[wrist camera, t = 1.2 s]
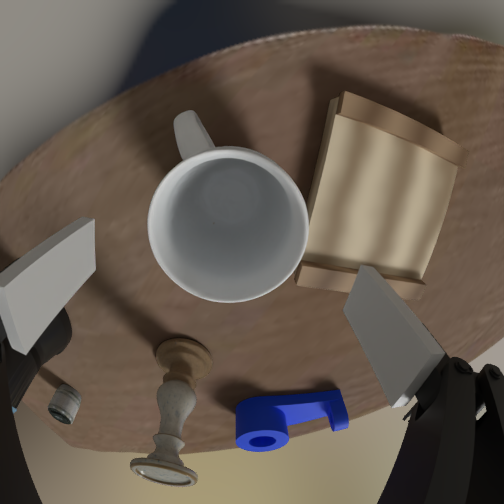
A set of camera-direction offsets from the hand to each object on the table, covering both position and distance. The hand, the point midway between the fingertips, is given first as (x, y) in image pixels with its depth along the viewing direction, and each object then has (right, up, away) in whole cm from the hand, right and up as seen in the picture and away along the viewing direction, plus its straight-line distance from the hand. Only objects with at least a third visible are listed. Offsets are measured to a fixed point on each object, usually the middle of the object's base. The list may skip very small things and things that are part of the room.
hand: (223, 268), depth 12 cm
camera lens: (-39, -30, +32) cm, 58 cm away
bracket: (+8, -28, +33) cm, 44 cm away
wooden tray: (+17, +7, +18) cm, 26 cm away
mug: (-1, +8, +17) cm, 19 cm away
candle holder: (-9, -15, +27) cm, 32 cm away
